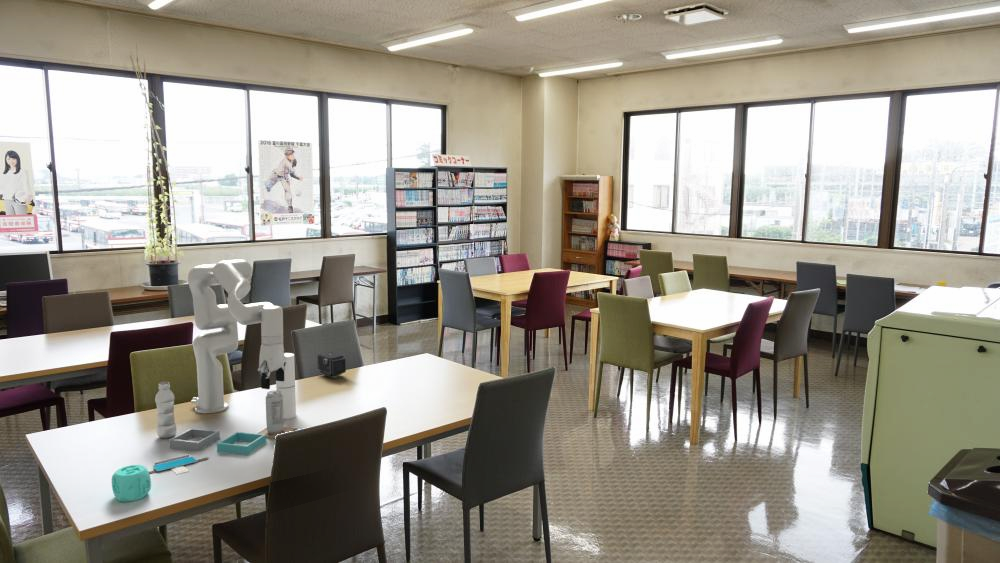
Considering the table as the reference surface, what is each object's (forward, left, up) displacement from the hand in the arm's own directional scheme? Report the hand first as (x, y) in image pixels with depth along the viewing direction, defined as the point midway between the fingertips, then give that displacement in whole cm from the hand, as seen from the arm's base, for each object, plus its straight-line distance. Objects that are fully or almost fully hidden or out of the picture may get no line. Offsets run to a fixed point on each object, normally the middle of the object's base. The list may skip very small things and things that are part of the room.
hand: (273, 384), depth 245 cm
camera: (-14, +75, -19) cm, 78 cm away
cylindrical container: (-5, +18, -19) cm, 26 cm away
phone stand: (-14, -35, -19) cm, 43 cm away
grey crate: (-21, -16, -19) cm, 33 cm away
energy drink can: (0, 0, -18) cm, 18 cm away
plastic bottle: (-35, -13, -19) cm, 42 cm away
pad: (+1, 0, -19) cm, 19 cm away
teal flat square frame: (-3, -15, -19) cm, 24 cm away
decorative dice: (-12, -56, -19) cm, 61 cm away
